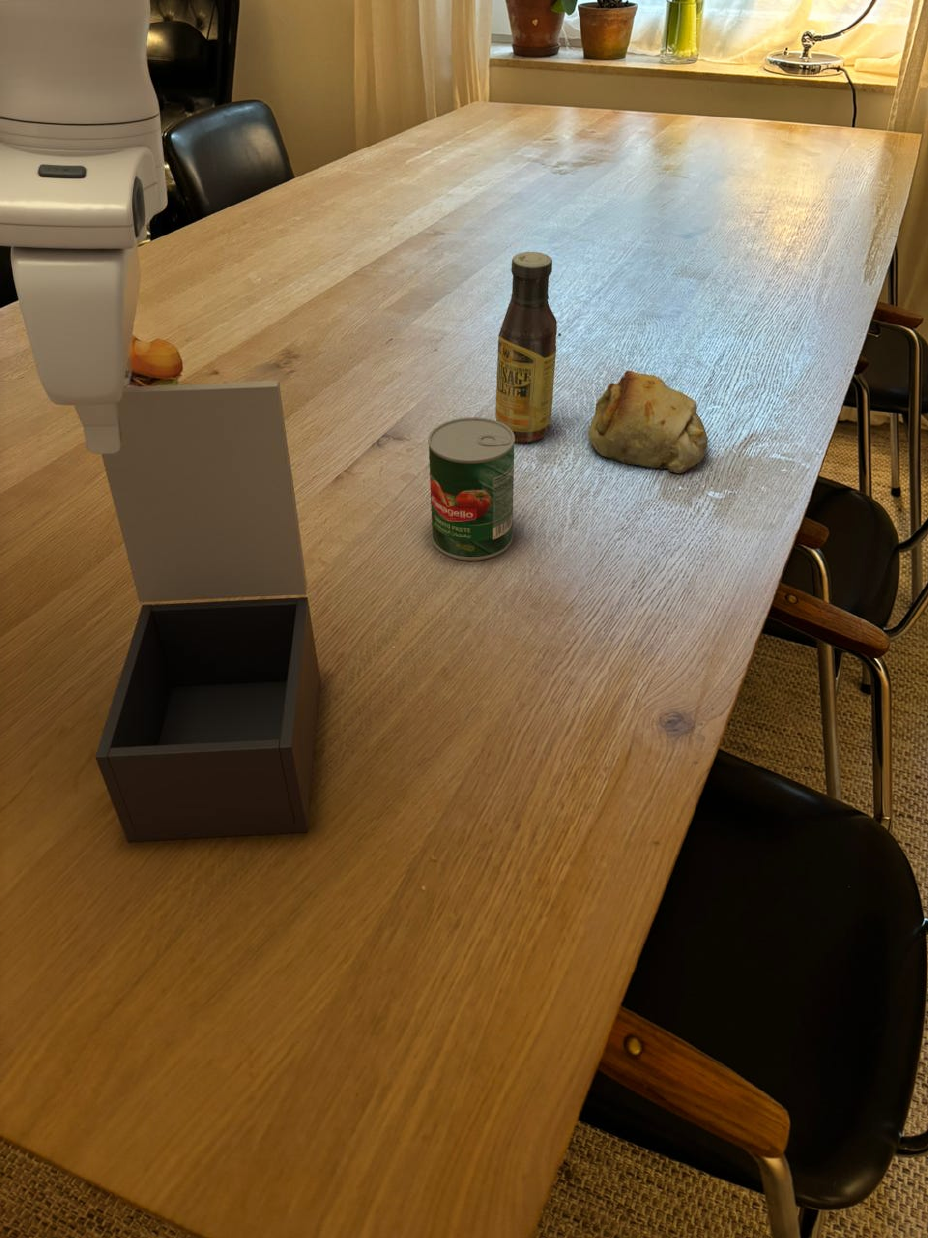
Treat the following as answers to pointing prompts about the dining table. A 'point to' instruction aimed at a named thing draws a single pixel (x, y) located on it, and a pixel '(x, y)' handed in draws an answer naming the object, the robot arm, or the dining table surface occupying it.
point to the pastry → (648, 425)
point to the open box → (214, 721)
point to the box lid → (206, 492)
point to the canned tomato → (472, 487)
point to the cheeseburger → (154, 363)
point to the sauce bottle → (527, 351)
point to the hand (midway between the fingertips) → (111, 413)
